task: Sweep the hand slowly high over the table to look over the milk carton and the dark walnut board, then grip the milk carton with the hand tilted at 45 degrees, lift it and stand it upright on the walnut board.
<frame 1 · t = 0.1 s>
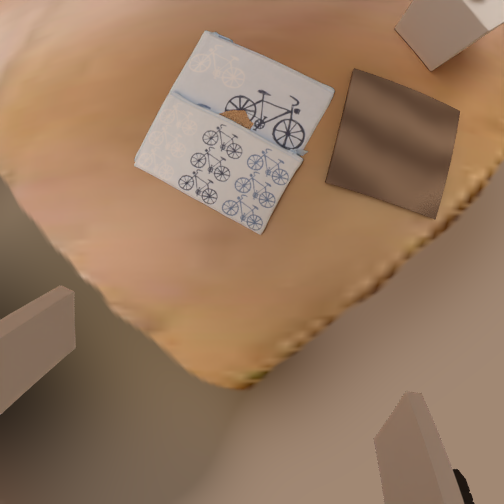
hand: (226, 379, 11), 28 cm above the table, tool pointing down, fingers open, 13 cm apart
milk carton: (428, 39, 28), on the table
walnut board: (395, 143, 33), on the table
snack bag: (234, 124, 36), on the table
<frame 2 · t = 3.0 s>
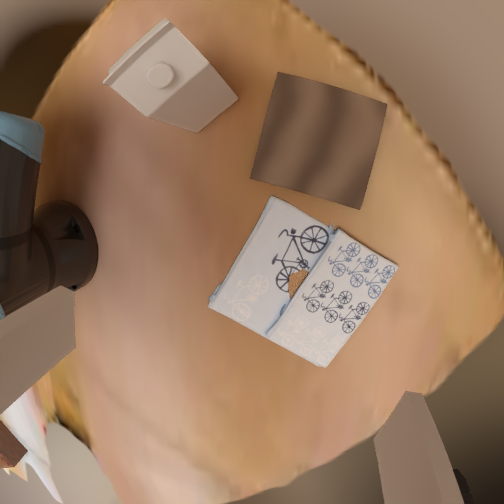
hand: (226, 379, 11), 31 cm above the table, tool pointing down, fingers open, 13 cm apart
milk carton: (202, 97, 38), on the table
walnut board: (319, 139, 37), on the table
tissue box cover: (6, 438, 73), on the table
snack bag: (301, 283, 43), on the table
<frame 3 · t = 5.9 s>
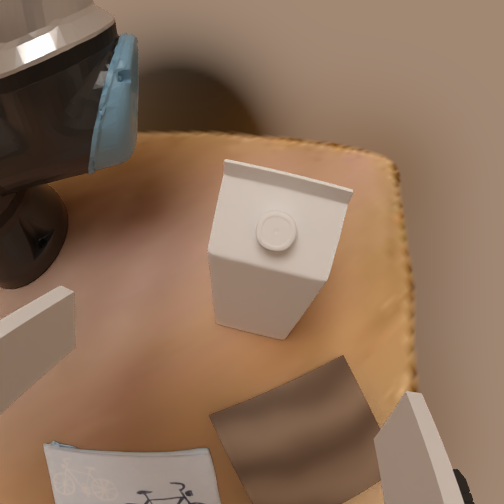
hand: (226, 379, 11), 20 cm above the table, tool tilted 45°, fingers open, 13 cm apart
milk carton: (257, 301, 33), on the table
walnut board: (307, 448, 26), on the table
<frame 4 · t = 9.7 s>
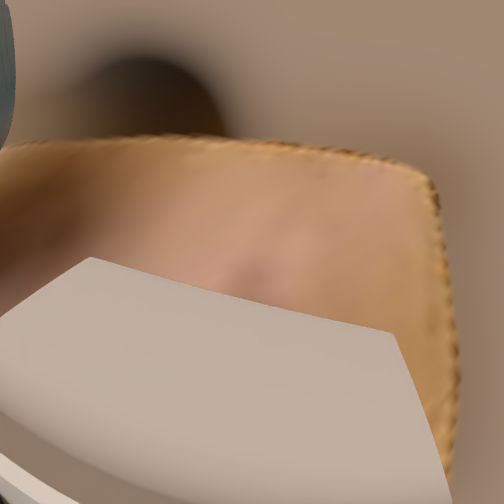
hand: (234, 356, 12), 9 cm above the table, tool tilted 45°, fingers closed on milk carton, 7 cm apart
milk carton: (217, 426, 18), on the table, touching gripper
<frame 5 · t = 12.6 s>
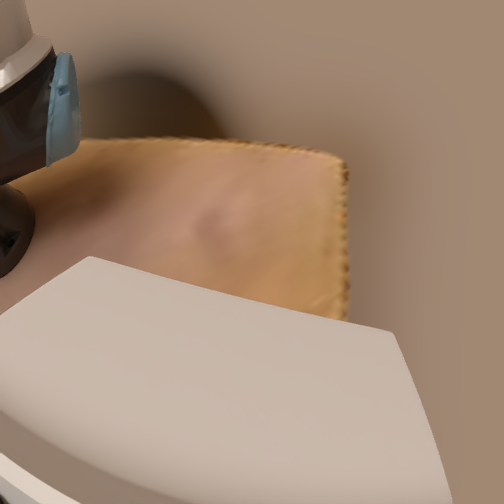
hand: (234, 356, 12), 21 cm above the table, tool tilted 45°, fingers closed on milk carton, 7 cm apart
milk carton: (217, 426, 18), point 12 cm above the table, touching gripper
when the fingers open (12 cm above the table, at t = 15.4 s): milk carton drops 1 cm, resting on walnut board.
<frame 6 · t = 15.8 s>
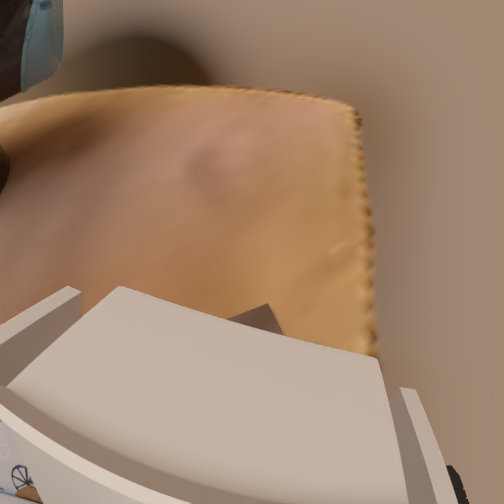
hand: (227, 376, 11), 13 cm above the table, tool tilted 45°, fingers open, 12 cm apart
milk carton: (220, 427, 19), point 1 cm above the table, touching walnut board
walnut board: (218, 424, 21), on the table
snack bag: (36, 500, 15), on the table
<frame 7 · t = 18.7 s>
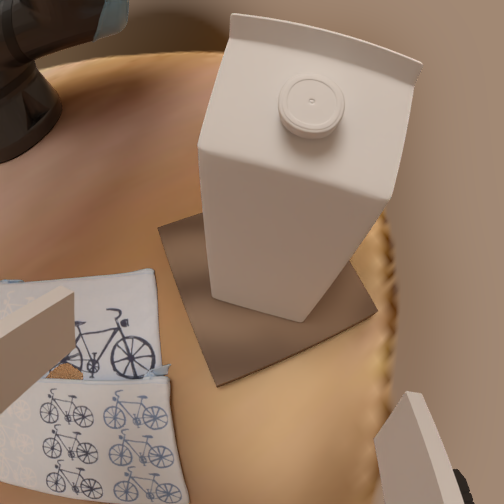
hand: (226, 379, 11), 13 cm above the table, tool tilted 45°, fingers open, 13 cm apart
milk carton: (268, 272, 25), point 1 cm above the table, touching walnut board
walnut board: (263, 276, 27), on the table
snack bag: (69, 384, 21), on the table
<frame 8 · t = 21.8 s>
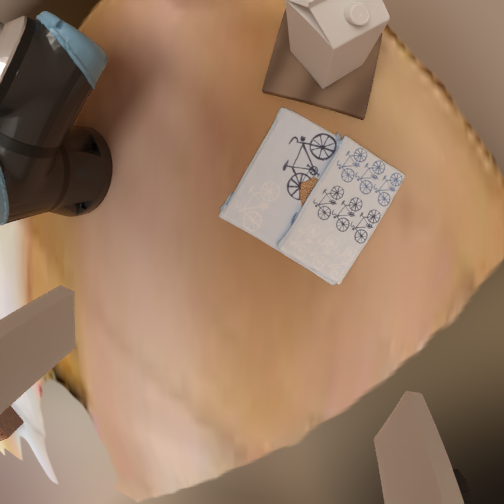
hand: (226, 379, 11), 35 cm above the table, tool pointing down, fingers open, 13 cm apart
milk carton: (326, 57, 36), point 1 cm above the table, touching walnut board
walnut board: (324, 61, 37), on the table
tissue box cover: (2, 410, 74), on the table
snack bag: (312, 193, 43), on the table
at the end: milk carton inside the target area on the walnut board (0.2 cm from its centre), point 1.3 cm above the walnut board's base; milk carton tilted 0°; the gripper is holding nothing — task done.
